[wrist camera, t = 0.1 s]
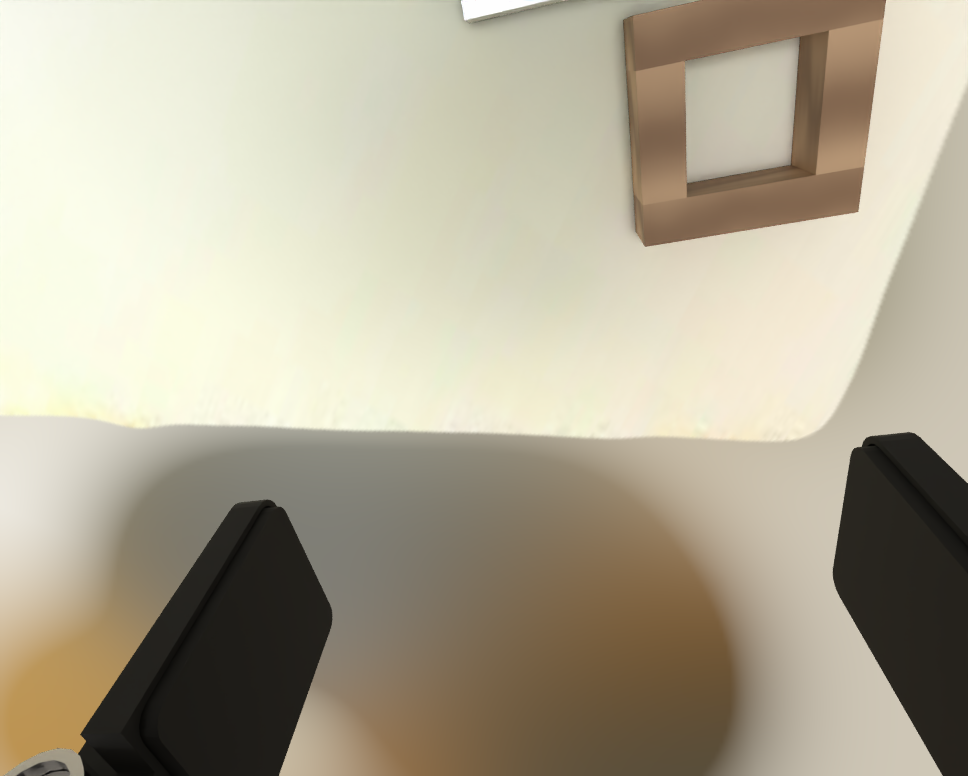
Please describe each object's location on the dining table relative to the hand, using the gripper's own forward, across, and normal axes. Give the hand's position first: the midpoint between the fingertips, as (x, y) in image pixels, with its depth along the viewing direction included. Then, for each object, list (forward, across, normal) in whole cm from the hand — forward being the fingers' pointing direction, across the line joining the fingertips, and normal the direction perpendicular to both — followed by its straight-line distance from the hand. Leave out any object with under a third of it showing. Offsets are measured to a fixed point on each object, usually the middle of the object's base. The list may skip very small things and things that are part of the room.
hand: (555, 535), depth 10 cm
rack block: (+31, -12, -2) cm, 33 cm away
